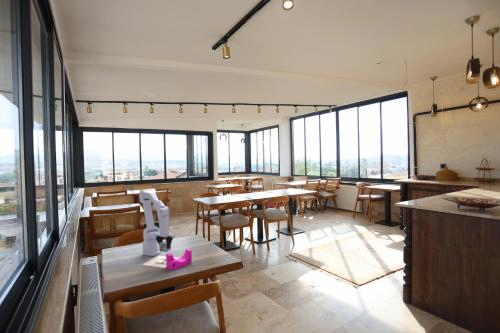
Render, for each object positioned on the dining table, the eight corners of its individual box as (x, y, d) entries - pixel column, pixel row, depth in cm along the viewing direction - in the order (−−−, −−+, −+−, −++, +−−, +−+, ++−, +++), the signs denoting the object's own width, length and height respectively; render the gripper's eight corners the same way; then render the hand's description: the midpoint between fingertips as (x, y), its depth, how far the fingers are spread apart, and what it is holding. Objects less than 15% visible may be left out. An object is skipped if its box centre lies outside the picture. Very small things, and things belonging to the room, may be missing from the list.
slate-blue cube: (159, 251, 172) (159, 243, 172) (164, 248, 177) (164, 240, 177) (166, 252, 171) (165, 244, 170) (171, 249, 175) (170, 241, 175)
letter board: (142, 264, 169) (142, 264, 169) (159, 255, 184) (159, 255, 184) (165, 268, 163) (165, 267, 163) (180, 258, 178) (180, 258, 178)
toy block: (170, 270, 160) (170, 257, 160) (166, 266, 165) (165, 254, 164) (193, 263, 170) (193, 251, 169) (188, 260, 174) (188, 248, 174)
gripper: (150, 227, 171) (151, 249, 172) (170, 229, 167) (170, 251, 167) (157, 224, 178) (158, 245, 179) (176, 226, 173) (177, 247, 174)
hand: (164, 248), depth 173 cm, fingers closed on slate-blue cube, 5 cm apart
